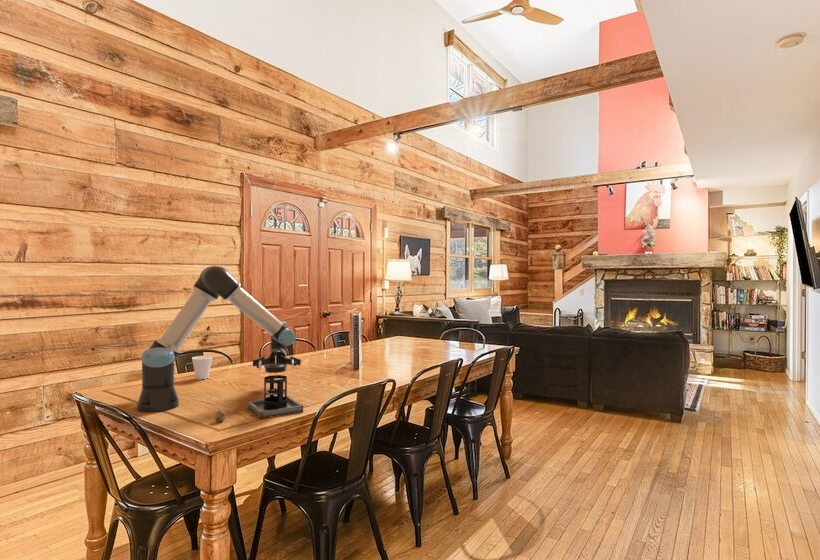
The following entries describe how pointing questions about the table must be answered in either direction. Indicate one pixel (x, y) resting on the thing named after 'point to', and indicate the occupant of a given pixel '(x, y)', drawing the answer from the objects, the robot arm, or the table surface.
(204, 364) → the cup
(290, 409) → the tray
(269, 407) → the french press
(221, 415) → the wooden ball
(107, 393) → the table surface
